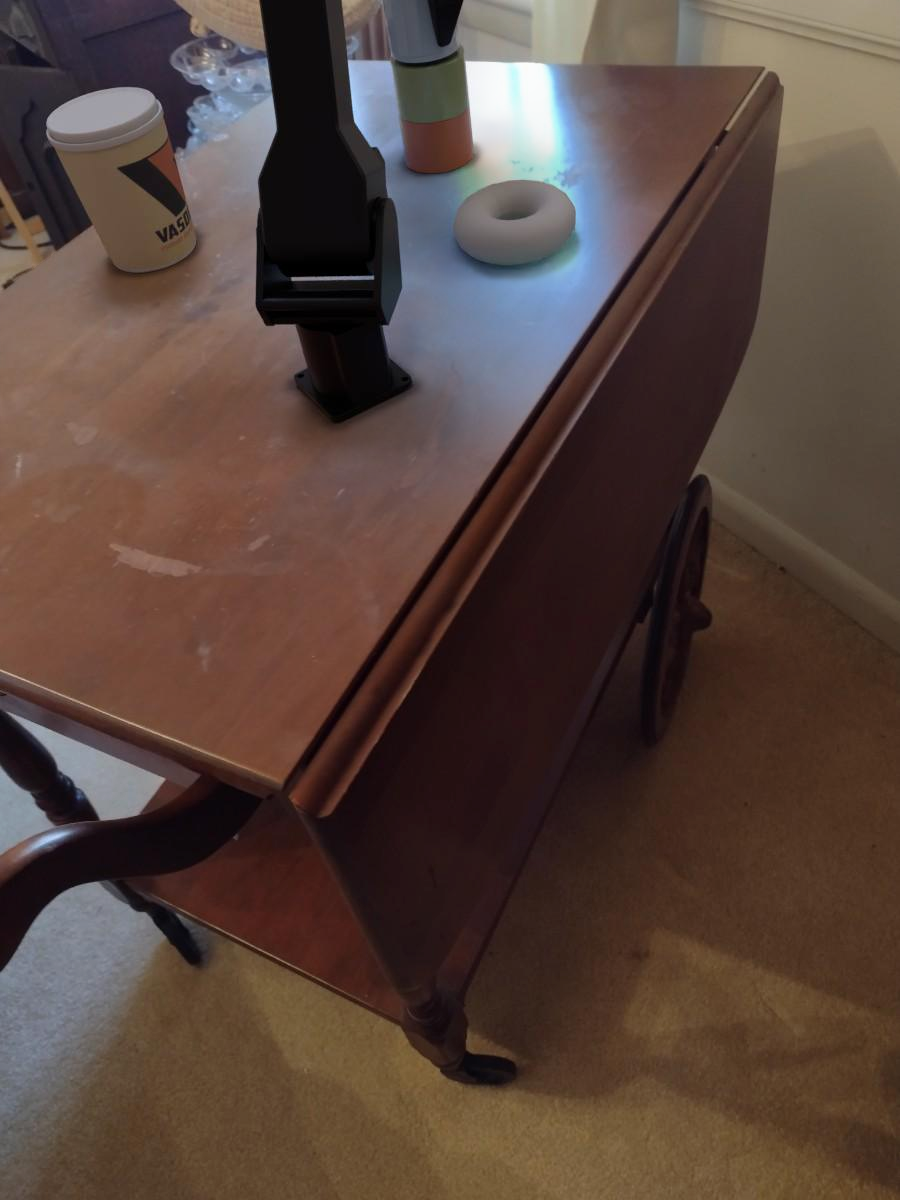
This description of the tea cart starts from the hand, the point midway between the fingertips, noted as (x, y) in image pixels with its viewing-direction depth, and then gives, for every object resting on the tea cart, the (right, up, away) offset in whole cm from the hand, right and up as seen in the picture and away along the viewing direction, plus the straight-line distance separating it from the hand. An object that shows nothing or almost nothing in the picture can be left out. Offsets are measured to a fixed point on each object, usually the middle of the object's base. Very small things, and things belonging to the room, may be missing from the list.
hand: (424, 37), depth 79 cm
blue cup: (0, -1, +1) cm, 1 cm away
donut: (+8, -19, -4) cm, 21 cm away
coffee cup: (-24, -18, +2) cm, 30 cm away
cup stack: (+1, -7, +8) cm, 10 cm away
